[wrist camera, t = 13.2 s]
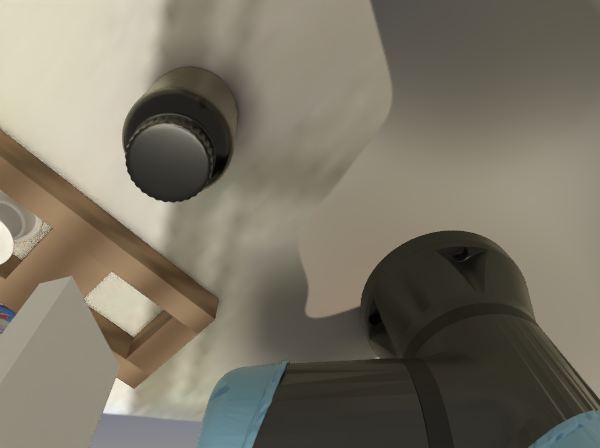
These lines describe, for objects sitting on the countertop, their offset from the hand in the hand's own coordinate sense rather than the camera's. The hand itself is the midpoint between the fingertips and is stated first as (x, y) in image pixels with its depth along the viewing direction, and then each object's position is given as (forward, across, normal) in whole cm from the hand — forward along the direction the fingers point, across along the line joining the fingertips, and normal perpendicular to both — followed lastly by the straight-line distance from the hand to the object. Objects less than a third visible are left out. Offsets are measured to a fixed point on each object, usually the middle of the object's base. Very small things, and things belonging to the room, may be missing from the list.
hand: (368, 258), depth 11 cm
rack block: (+29, +23, +11) cm, 38 cm away
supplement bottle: (+29, +8, +1) cm, 30 cm away
